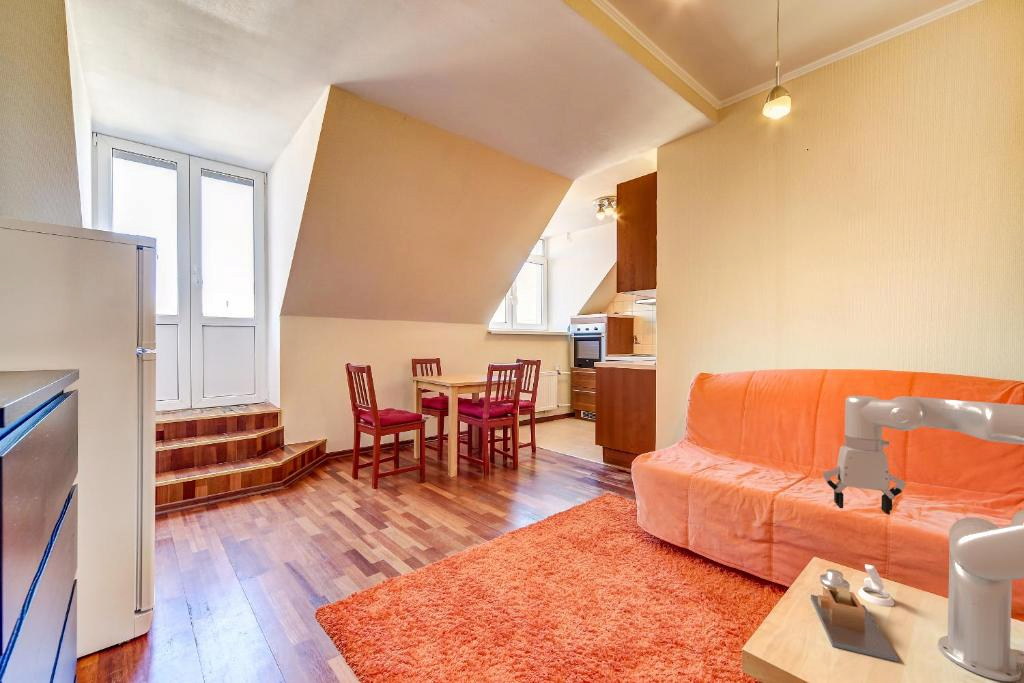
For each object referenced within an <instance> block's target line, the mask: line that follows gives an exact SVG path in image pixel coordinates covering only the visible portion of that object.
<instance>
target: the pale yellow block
mask: <svg viewBox="0 0 1024 683" xmlns="http://www.w3.org/2000/svg"><path fill="white" fill-rule="evenodd" d="M850 592H851V591H850V590H848V589H846V588H842V587H838V586H836V603H839V604H843V605H848V606H851V595H850Z"/></svg>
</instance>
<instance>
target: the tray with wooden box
mask: <svg viewBox="0 0 1024 683" xmlns="http://www.w3.org/2000/svg"><path fill="white" fill-rule="evenodd" d="M819 582H820V583H821V584H822V585H823V586H822V594H821V595H819V594H818V595H815V594H810V600H811V602H812V603H811V604H813V607H814V610H815V611H816V613H817V616H818V618H819V619H820V623H821V626H822V627H823V628H824V631H825V633H826V635H827V638H828V640H829V642H830V644H831V647H833V648H836V649H841V650H845V651H846V650H847V651H849V652H854V653H858V654H860V655H861V654H862V655H867V656H870V657H874V658H879V659H883V660H887V661H891V662H895V663H898V656H897V654H896V652H895V651H894V650H893V648H892V645H890V643H889V642H888V640H887V639H886V637H885V635H884V633H883V632H882V630H881V629H880V627H879V626H878V625H877V622H876V621H875V620H874V618H873V617H872V615H871V614H870V612H869V610H868V609H867V607H866V606H865V605H864V604H862V603H861V602H860V601H859V600H858V597H857V596H856V594H855V593H854V592H853V591H850V590H851V588H850V587H851V586H850V585H851V584H850V582H848V581H847V580H846V579H844V574H843V572H841V571H839V570H836V569H833V568H829V569H826V573H824V574H823V573H822V574H821V575H820V576H819ZM836 586H838V587H842V588H846V589H848V590H849V592H850V595H851V606H848V605H843V604H839V603H836Z"/></svg>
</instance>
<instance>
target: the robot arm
mask: <svg viewBox="0 0 1024 683" xmlns="http://www.w3.org/2000/svg"><path fill="white" fill-rule="evenodd" d="M844 405H845V406H844V413H845V414H844V445H840V448H839V451H838V456H837V462H836V463H837V465H836V468H832V469H830V470H826V471H823V472H822V474H821V475H822V477H823V479H824V480H825V481H826V484H828V485H829V487H830V488H832V489H833V494H834V495H833V501H834V503H835V505H836V506H837V507H838V508H839V509H844V493H843V491H844V490H845V489H846V488H848V487H849V488H856V489H864V490H871V491H881V492H882V495H881V505H880V506H881V511H882V512H883V513H885V514H886V515H889V516H890V515H891V511H893V500H895V497H897V496H898V495H900V494H901V493H902V490H904V489H905V487H906V486H907V483H906V482H905V481H904V480H902V479H900V478H899V477H897V476H894V475H892V474H890V471H889V470H890V469H889V463H888V457H887V453H886V450H884V448H885V447H890V441H889V440H884V438H883V428H888V429H891V430H892V429H893V430H897V431H902V432H903V431H904V432H907V431H913V430H916V429H919V427H923V428H933V429H941V430H948V431H954V432H959V433H963V434H965V435H968V436H970V437H973V438H976V439H980V440H984V441H989V442H996V443H1005V444H1015V445H1024V404H1012V403H998V402H988V401H987V402H986V401H976V400H975V401H971V400H960V399H959V400H958V399H948V398H946V399H945V398H937V397H935V398H934V397H922V396H909V395H907V396H904V395H903V396H896V397H894V398H892V399H881V398H879V397H876V396H869V395H849V396H847V397H846V399H845V404H844ZM833 476H836V480H837V481H836V482H833V480H832V479H831V477H833ZM891 481H892V482H893V483H895V485H894V486H893V487H891V488H890V485H891V484H890V482H891ZM1010 522H1011V524H1010V525H1005V526H998V525H996V524H995V523H993V522H991V521H988V520H986V519H984V518H979V517H963V518H961V519H958V520H957V521H955V522H954V523H952V525H951V526H950V529H949V532H948V548H949V550H948V551H949V552H948V553H949V555H948V556H949V557H948V558H949V560H948V562H949V563H948V564H949V565H948V596H947V597H948V598H947V599H948V600H947V601H948V605H947V609H948V610H947V635H944V636H941V637H939V638H938V640H937V646H938V649H939V650H940V651H941V653H942V654H943V655H945V657H947V658H948V659H949V660H951V661H952V662H953V663H954V664H956V665H959V666H960V667H962V668H964V669H966V670H968V671H970V672H972V673H974V674H977V675H979V676H982V677H985V678H988V679H991V680H996V681H1000V682H1017V681H1019V680H1020V679H1021V678H1022V677H1021V676H1022V672H1021V669H1020V667H1023V666H1024V650H1020V649H1016V648H1014V649H1013V648H1011V636H1012V635H1011V634H1012V633H1011V631H1012V629H1011V628H1012V627H1011V626H1012V625H1011V624H1012V598H1013V596H1012V594H1013V593H1012V592H1013V591H1012V590H1013V586H1012V585H1013V583H1012V582H1013V581H1015V580H1024V509H1020V510H1019V511H1017V512H1015V513H1014V515H1013V516H1012V517H1011V521H1010Z"/></svg>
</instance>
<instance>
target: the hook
mask: <svg viewBox="0 0 1024 683" xmlns="http://www.w3.org/2000/svg"><path fill="white" fill-rule="evenodd" d="M864 568H865V571H866V573H867V574H868V576H869V577H865V578H864V579H863V582H864V585H862V586H861V588H859V590H858V592H857V593H858V595H859V597H861V598H862V599H863V600H865V601H867V602H869V603H871V604H874V605H876V606H881V607H893V606H894V605H895V601H894V599H893V596H892V595H891V594H890V593H888V592H887V591H886V590H884V589H885V586H884V583H883V580H882V578H881V576H880V574H879V573H878V571H877V569H876V567H875V566H874V565H870V564H864ZM866 591H868V592H873V593H876V594H878V595H879V594H880V595H882V596H884V597H886V598H881V597H877V596H874V595H871V594H869V593H868V592H866Z"/></svg>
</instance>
